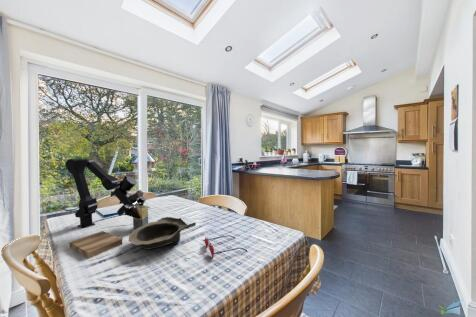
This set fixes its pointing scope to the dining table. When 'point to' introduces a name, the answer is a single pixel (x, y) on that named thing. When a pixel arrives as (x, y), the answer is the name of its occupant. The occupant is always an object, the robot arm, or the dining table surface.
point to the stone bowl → (158, 233)
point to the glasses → (213, 248)
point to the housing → (143, 215)
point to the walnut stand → (95, 244)
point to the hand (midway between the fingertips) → (143, 216)
